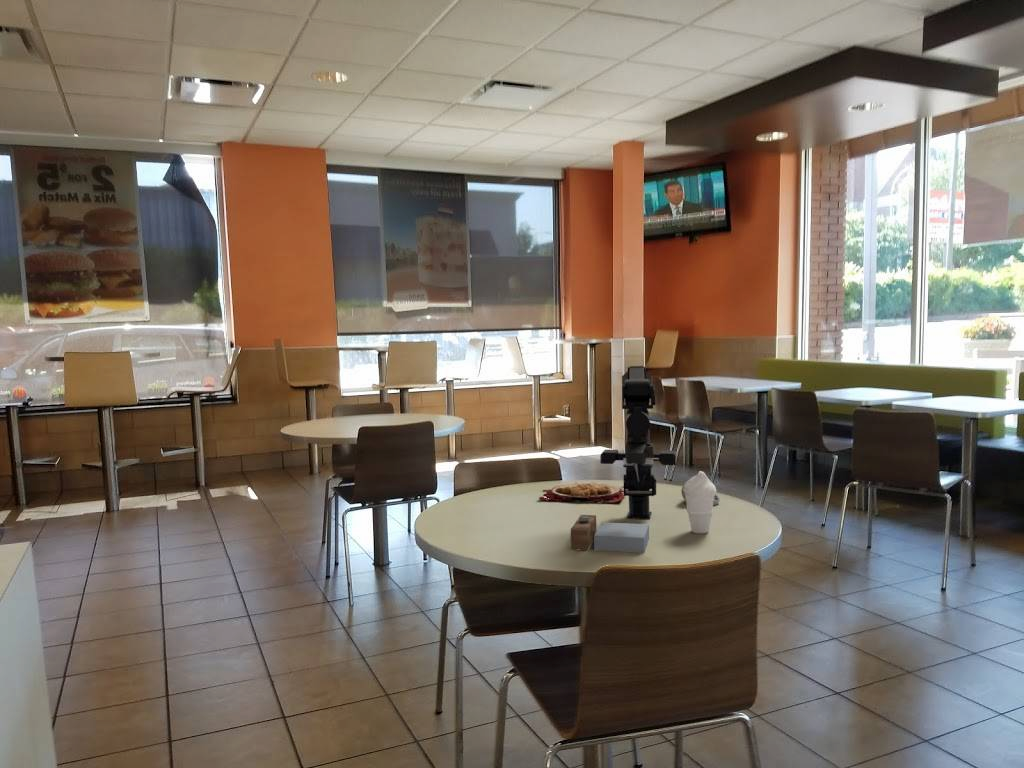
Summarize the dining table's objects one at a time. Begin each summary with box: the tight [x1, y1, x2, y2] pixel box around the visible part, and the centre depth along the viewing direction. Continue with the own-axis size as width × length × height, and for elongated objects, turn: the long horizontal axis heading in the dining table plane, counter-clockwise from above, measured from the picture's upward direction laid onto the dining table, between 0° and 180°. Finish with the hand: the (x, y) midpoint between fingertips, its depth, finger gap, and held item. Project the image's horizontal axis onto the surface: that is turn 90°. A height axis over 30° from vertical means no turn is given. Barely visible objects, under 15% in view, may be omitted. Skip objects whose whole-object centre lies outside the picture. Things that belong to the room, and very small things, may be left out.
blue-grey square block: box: [593, 521, 650, 554], centre depth 180 cm, size 12×12×4 cm
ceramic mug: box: [680, 474, 721, 506], centre depth 219 cm, size 11×8×8 cm
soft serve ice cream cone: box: [683, 470, 717, 534], centre depth 188 cm, size 8×8×16 cm
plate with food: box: [538, 482, 628, 505], centre depth 235 cm, size 24×26×3 cm
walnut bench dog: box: [570, 514, 597, 551], centre depth 183 cm, size 14×4×6 cm, turn 164°
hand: (639, 490), depth 185 cm, fingers closed
